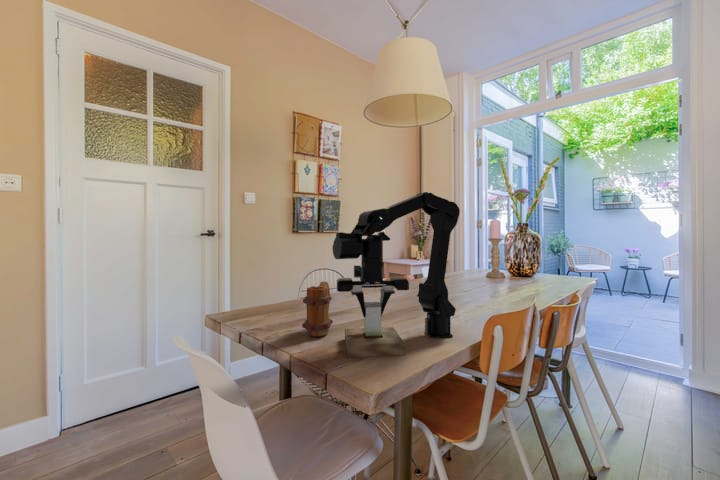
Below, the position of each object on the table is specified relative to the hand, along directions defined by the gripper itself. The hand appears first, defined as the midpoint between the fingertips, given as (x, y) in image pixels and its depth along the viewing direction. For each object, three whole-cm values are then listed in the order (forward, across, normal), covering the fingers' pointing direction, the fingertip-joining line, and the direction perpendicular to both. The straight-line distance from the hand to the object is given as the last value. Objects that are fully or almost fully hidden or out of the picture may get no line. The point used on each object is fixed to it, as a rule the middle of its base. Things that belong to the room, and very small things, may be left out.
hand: (372, 316), depth 87 cm
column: (+4, 0, 0) cm, 4 cm away
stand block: (+8, 0, 0) cm, 8 cm away
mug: (+8, +14, -15) cm, 22 cm away
